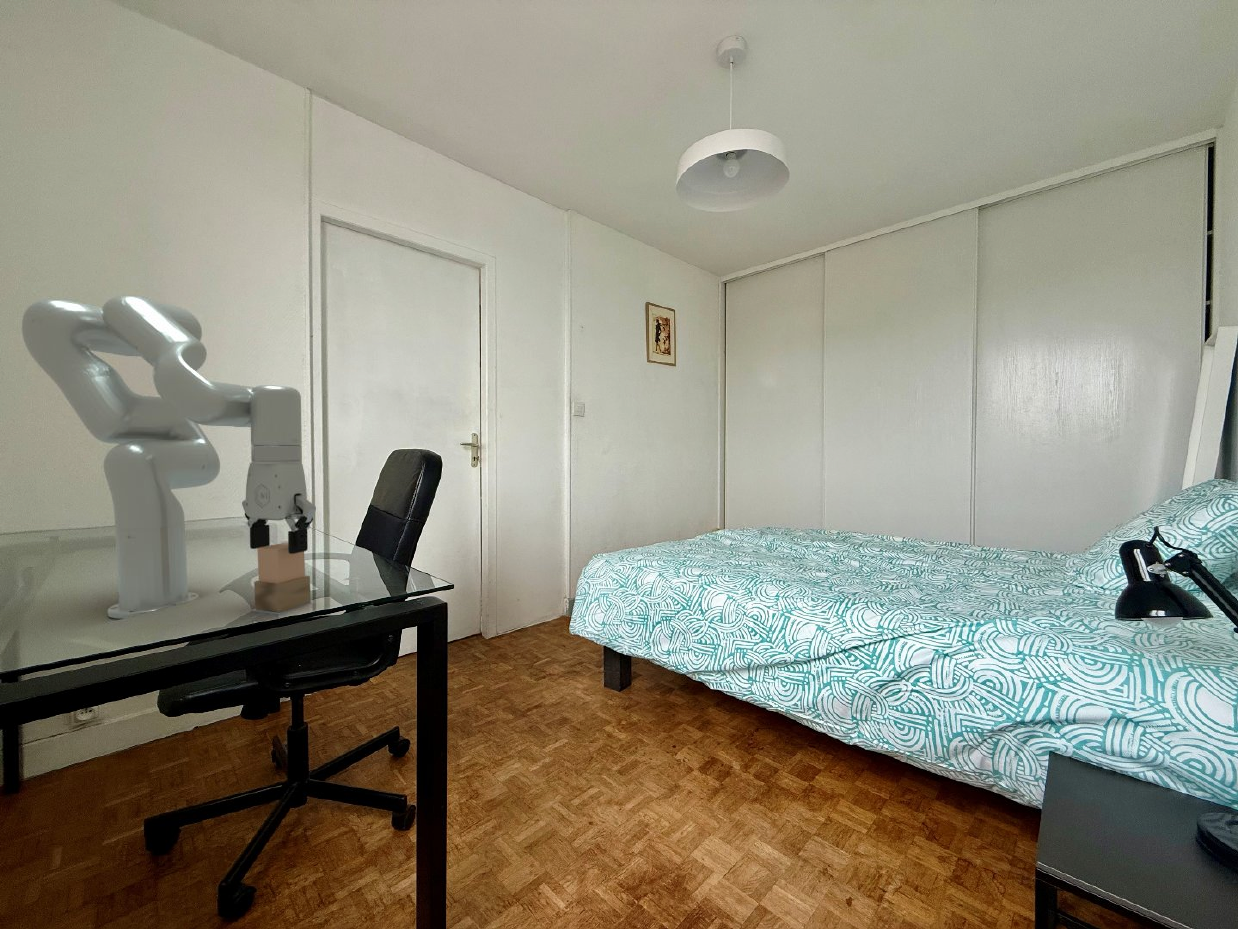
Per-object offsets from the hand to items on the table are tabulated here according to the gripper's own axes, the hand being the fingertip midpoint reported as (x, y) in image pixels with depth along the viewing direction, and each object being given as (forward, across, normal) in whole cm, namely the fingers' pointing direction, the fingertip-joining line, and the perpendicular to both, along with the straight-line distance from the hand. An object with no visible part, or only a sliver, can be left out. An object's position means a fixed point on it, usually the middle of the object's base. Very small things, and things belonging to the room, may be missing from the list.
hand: (278, 549), depth 91 cm
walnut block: (+10, +1, 0) cm, 10 cm away
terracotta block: (+5, +1, 0) cm, 5 cm away
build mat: (+11, +1, 0) cm, 11 cm away
